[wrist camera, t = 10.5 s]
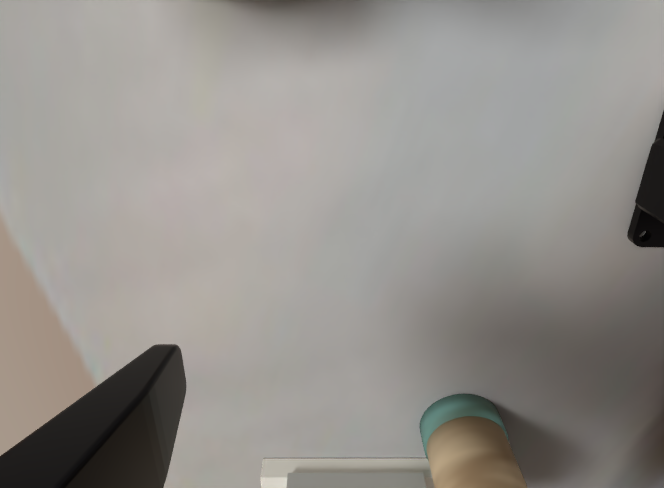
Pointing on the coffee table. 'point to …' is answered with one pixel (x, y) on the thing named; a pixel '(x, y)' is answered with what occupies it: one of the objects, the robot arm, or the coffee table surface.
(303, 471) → the socket board
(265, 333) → the coffee table surface
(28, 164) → the coffee table surface
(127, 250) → the coffee table surface
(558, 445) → the coffee table surface
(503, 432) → the tan domed cylinder
